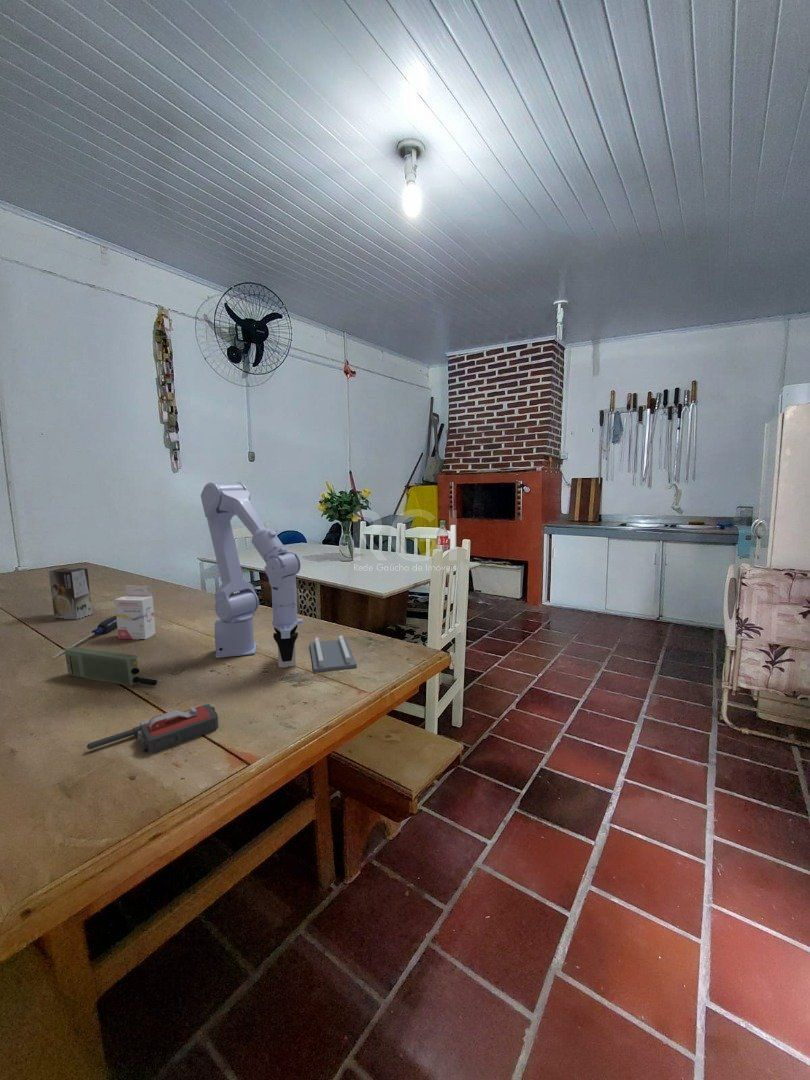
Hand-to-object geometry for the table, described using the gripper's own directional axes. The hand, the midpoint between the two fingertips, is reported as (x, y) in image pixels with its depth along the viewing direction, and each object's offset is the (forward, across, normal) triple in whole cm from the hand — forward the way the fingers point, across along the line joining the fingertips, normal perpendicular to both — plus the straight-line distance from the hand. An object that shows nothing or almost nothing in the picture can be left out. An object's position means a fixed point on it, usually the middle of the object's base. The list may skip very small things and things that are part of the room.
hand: (287, 657), depth 109 cm
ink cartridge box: (+2, +32, +42) cm, 53 cm away
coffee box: (+2, +60, +69) cm, 91 cm away
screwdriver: (+2, +32, +54) cm, 63 cm away
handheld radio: (+2, +2, +38) cm, 38 cm away
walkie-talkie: (+2, -27, +22) cm, 35 cm away
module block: (+2, 0, 0) cm, 2 cm away
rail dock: (+2, +2, -11) cm, 11 cm away
